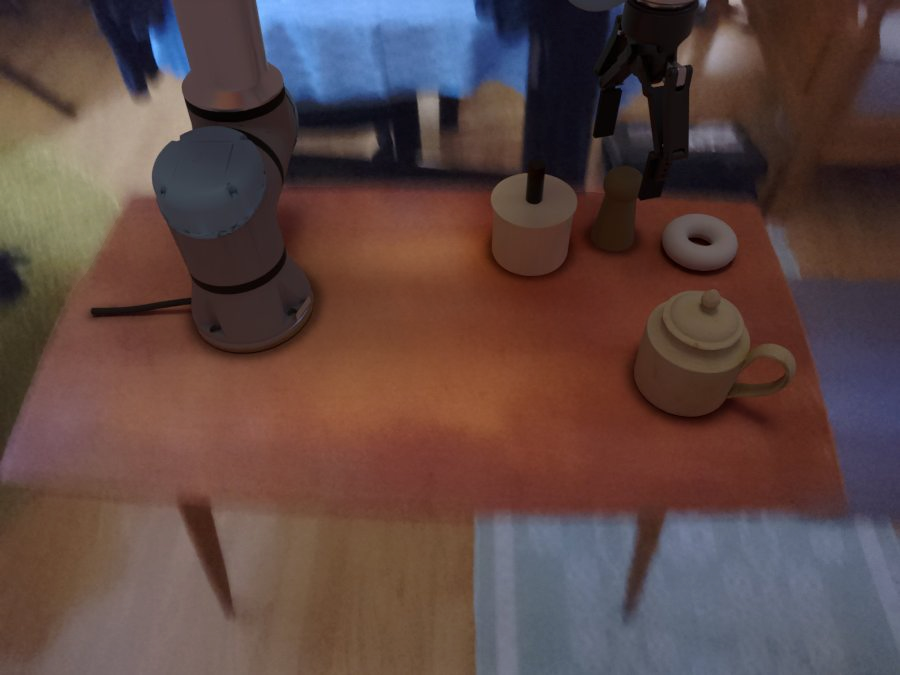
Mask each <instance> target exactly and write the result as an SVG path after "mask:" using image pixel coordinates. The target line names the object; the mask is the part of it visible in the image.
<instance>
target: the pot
mask: <svg viewBox="0 0 900 675" xmlns="http://www.w3.org/2000/svg"><path fill="white" fill-rule="evenodd" d="M573 217H574V215H573V216H572V218H571V219H569V220H568V221H567V222H566V223H564V224H562V225H560V226H558V227H555V228H552V229H547V230H525V229H520V228H517V227H514V226H511V225H509V224H507V223H505V222H504V221H502V220H501V219H500V218H499V217H498V216H497V215H496V214H495V213H494V211H493V210H492V230H491V232H492V233H491V252H492V256H493V258H494V260H495V261H496V263H497V264H498V265H499V266H500V267H501V268H503V269H504V270H506V271H508V272H510V273H513V274H515V275H518V276H519V275H520V276H525V277H536V276H537V277H539V276H543V275H547V274H550V273H552V272H554V271H556V270H558V269H559V268H560V267H561V266H562V265H563V263H565V260H566V258H567V256H568V251H569V243H570V238H571V231H572V224H573V219H574V218H573Z"/></svg>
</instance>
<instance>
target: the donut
mask: <svg viewBox="0 0 900 675" xmlns="http://www.w3.org/2000/svg"><path fill="white" fill-rule="evenodd" d="M694 238H695V239H701V240H704V241H706V242H707V243H709V245H700V244H698V243H694V242H692V241H691V240H689V239H694ZM661 241H662V247H663V249H664V251H665V254H666V255H667V256H668V257H669V258H670V259H671V261H673V262H674V263H676V264H678V265H679V266H682V267H683V268H686V269H689V270H692V271H700V272H706V271H707V272H708V271H715V270H716V271H717V270H719V269H721V268H723V267H725V266H727V265H729V263H731V261H733V260H734V259H735V257H736V254H737V253H738V249H739V243H738V237H737V235H736V233H735V232H734V229H733V228H731V227H730V225H729V224H727V223H726V222H725V221H723V220H721V219H719V218H718V217H715V216H712V215H709V214H704V213H687V214H683V215H680V216H677V217H675V218H674V219H673V220H671V221H670V222H669V223H668V224H666V226H665V228H664V230H663V231H662V234H661Z"/></svg>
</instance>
